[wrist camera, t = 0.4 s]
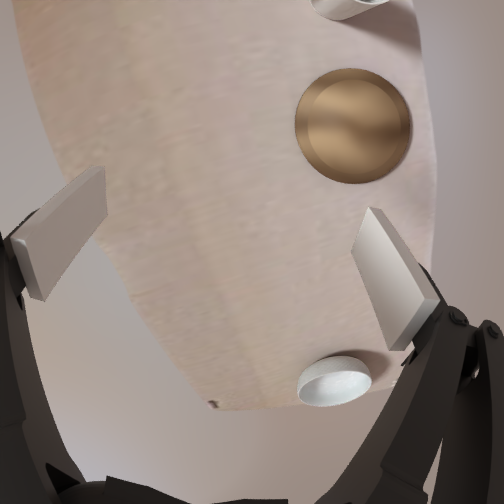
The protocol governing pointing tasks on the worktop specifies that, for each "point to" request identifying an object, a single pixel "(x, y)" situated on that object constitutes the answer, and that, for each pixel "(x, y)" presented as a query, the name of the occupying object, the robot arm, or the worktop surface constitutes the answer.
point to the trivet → (352, 125)
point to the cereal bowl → (333, 381)
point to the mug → (343, 7)
